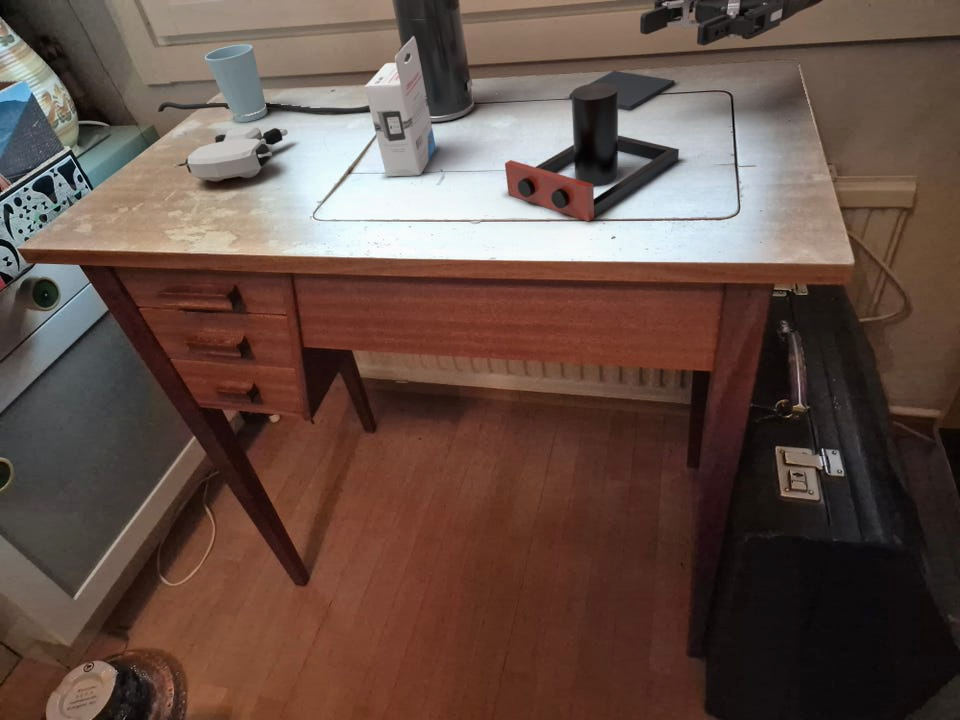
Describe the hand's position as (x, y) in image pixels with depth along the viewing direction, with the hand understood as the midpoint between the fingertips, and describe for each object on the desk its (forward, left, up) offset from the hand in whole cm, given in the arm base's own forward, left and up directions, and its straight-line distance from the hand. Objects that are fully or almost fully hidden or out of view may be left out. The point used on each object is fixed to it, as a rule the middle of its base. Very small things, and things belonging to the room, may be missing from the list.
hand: (670, 30), depth 74 cm
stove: (-2, -11, -13) cm, 17 cm away
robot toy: (-48, -34, -14) cm, 60 cm away
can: (-2, -11, -13) cm, 17 cm away
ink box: (-26, -20, -14) cm, 36 cm away
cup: (-67, -22, -14) cm, 72 cm away
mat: (-16, +13, -13) cm, 25 cm away
